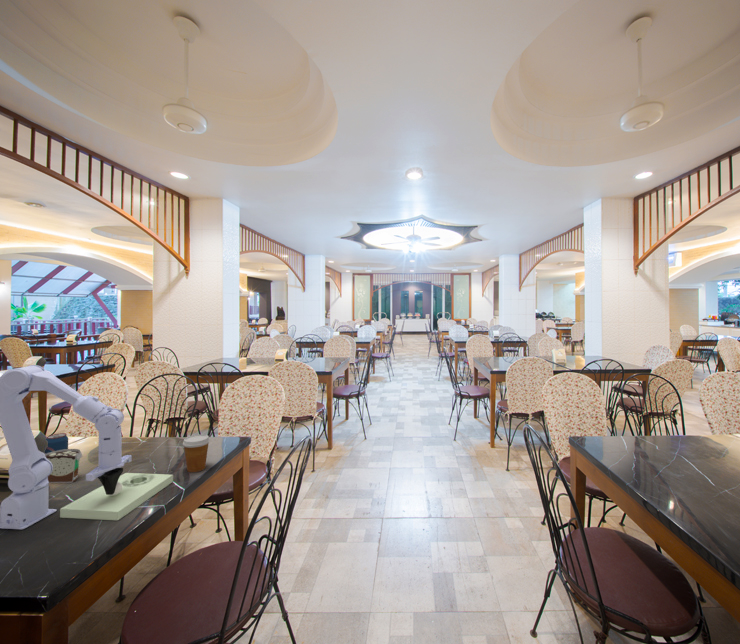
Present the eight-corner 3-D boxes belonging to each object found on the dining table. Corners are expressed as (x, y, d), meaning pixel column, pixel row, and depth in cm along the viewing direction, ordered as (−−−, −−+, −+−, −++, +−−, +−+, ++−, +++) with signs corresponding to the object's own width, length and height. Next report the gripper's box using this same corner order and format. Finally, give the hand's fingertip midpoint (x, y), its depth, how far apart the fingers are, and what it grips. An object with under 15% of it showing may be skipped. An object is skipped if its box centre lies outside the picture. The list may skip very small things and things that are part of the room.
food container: (90, 474, 126) (91, 448, 126) (77, 482, 120) (77, 454, 120) (57, 475, 126) (57, 448, 126) (41, 482, 120) (41, 454, 120)
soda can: (39, 468, 132) (39, 437, 132) (59, 461, 138) (59, 432, 139) (52, 470, 130) (53, 439, 130) (72, 463, 137) (72, 433, 137)
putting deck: (117, 520, 97) (117, 511, 97) (60, 517, 98) (60, 508, 99) (172, 481, 121) (172, 474, 121) (125, 479, 122) (125, 472, 122)
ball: (113, 497, 104) (117, 483, 105) (101, 496, 104) (106, 481, 106) (122, 496, 107) (127, 482, 109) (111, 494, 108) (115, 481, 109)
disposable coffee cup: (179, 475, 126) (179, 443, 126) (186, 465, 135) (186, 435, 135) (207, 472, 129) (207, 441, 129) (211, 462, 138) (212, 433, 138)
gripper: (101, 459, 97) (101, 506, 97) (140, 442, 112) (140, 483, 112) (79, 458, 98) (79, 505, 98) (120, 441, 112) (120, 482, 112)
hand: (110, 493), depth 105 cm, fingers closed, pressing on ball
